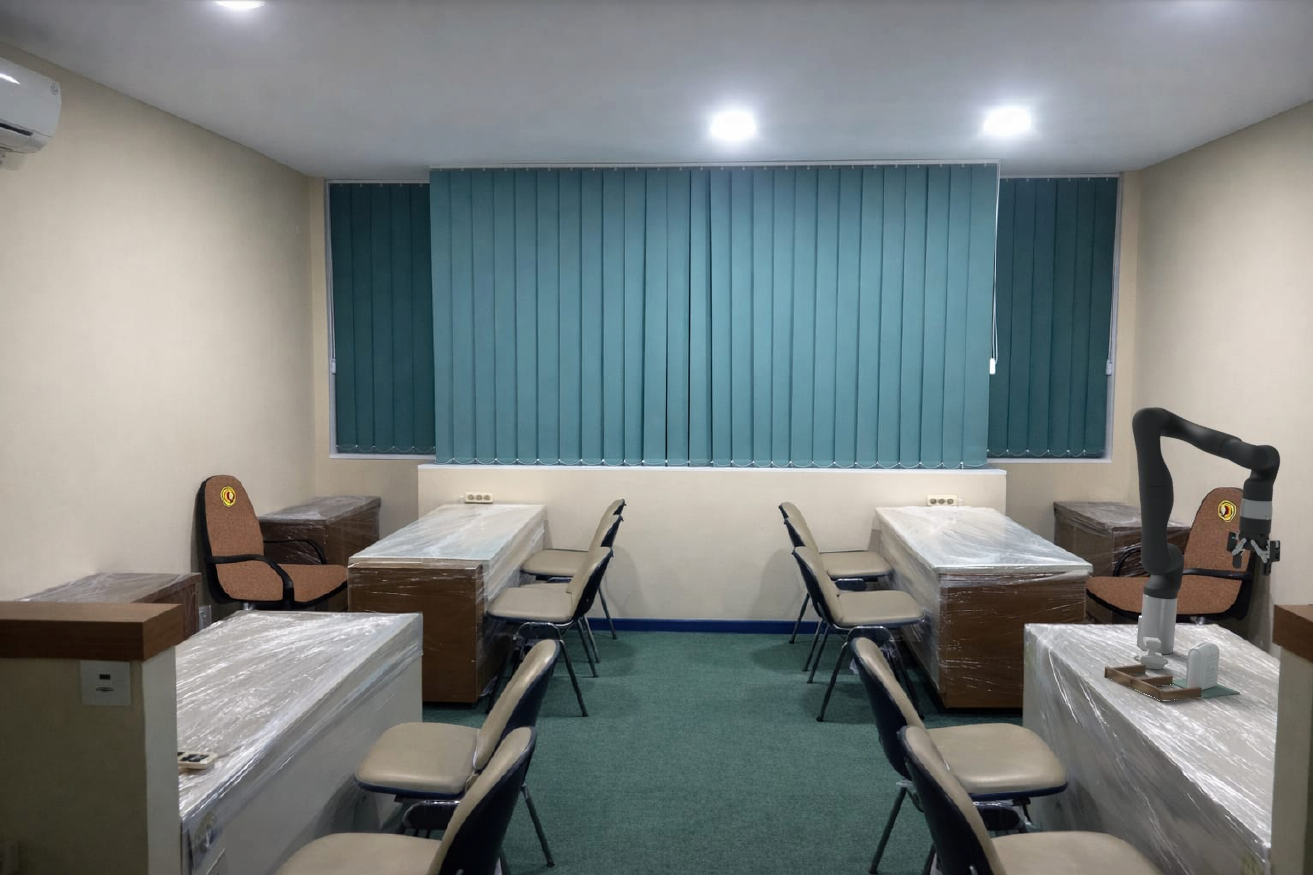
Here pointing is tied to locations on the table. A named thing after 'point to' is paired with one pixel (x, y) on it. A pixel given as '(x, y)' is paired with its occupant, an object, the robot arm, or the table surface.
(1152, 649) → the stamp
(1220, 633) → the table surface
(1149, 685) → the lane rack
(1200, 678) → the photo printer
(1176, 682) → the mat
